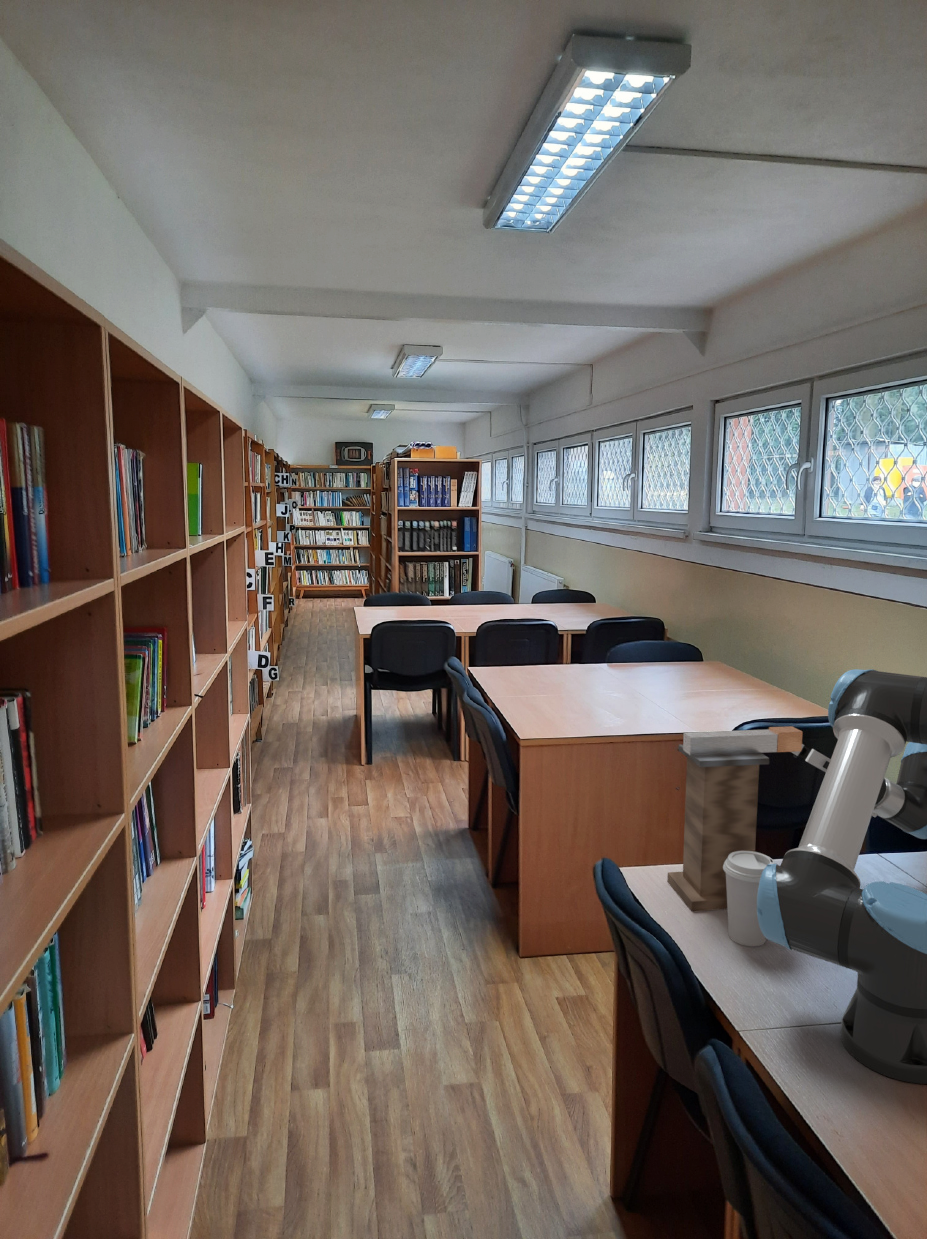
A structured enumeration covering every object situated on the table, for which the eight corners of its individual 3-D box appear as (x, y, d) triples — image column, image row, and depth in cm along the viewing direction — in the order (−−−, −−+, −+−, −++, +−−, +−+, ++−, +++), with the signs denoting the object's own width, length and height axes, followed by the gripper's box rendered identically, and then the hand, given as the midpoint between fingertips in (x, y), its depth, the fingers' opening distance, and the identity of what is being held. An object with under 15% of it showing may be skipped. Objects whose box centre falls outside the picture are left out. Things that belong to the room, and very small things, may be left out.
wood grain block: (791, 745, 169) (792, 726, 169) (801, 751, 165) (802, 731, 165) (682, 749, 167) (683, 730, 166) (690, 755, 163) (691, 735, 162)
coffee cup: (769, 956, 146) (773, 875, 144) (714, 942, 151) (717, 863, 149) (779, 932, 154) (783, 855, 152) (726, 919, 159) (729, 844, 157)
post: (739, 877, 177) (746, 740, 173) (769, 906, 164) (776, 759, 160) (667, 881, 175) (672, 743, 171) (691, 911, 162) (697, 762, 158)
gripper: (902, 831, 159) (815, 781, 156) (830, 787, 184) (753, 743, 180) (923, 797, 159) (836, 746, 155) (848, 758, 183) (771, 713, 180)
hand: (791, 745), depth 168 cm, fingers open, 13 cm apart
